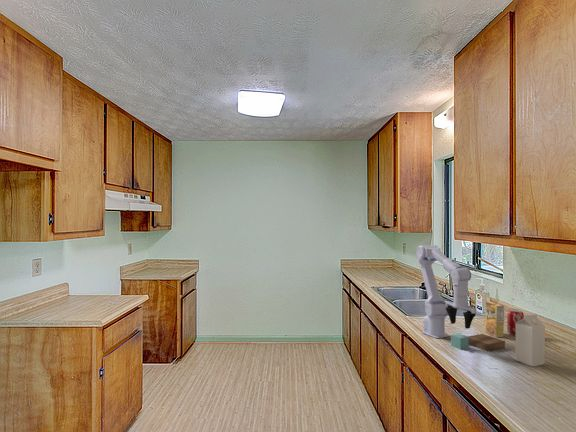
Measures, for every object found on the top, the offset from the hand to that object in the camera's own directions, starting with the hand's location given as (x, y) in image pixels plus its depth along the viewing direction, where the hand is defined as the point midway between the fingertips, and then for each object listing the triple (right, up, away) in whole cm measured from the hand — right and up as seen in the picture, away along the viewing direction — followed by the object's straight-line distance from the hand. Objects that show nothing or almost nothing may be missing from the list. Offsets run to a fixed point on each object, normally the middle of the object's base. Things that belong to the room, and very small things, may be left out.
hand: (460, 325), depth 166 cm
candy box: (+25, -10, +19) cm, 33 cm away
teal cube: (0, -10, 0) cm, 10 cm away
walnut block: (+12, -10, +2) cm, 16 cm away
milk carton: (+20, -10, -17) cm, 28 cm away
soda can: (+36, -10, +19) cm, 42 cm away
